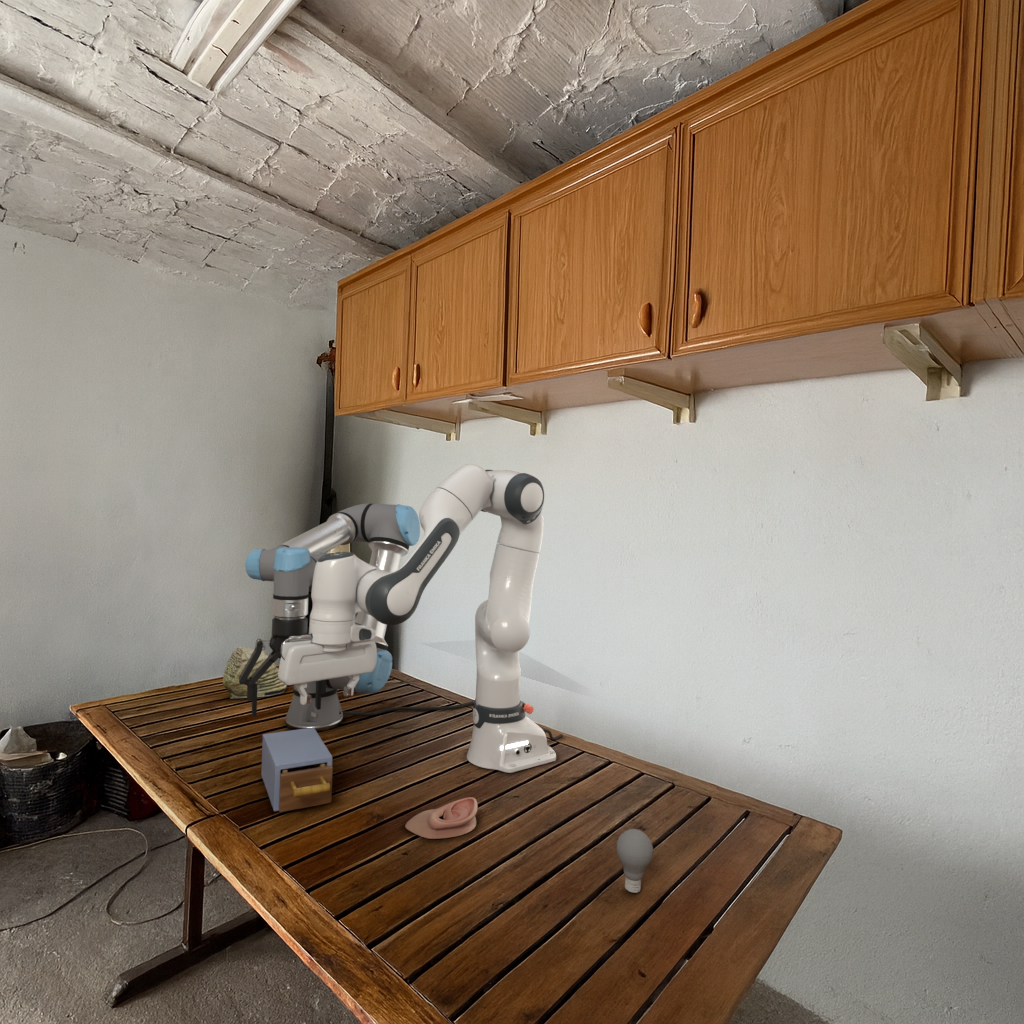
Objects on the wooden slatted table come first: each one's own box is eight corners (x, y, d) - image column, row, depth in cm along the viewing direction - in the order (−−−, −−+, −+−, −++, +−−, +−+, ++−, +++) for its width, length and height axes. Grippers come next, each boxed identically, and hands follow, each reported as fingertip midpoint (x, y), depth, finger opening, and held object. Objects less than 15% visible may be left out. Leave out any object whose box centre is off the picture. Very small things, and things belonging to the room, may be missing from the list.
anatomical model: (399, 813, 120) (420, 787, 131) (398, 834, 120) (419, 806, 131) (467, 823, 117) (482, 796, 128) (466, 845, 117) (481, 815, 128)
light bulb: (610, 879, 108) (613, 822, 108) (644, 879, 109) (647, 822, 109) (619, 902, 102) (622, 840, 102) (655, 901, 103) (658, 840, 103)
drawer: (337, 814, 125) (339, 778, 125) (284, 825, 120) (285, 787, 120) (313, 769, 144) (314, 738, 144) (266, 777, 139) (268, 744, 139)
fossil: (218, 695, 195) (220, 647, 195) (278, 685, 208) (279, 640, 207) (228, 703, 189) (230, 653, 188) (289, 692, 201) (290, 645, 201)
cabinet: (330, 800, 132) (332, 756, 132) (273, 811, 127) (275, 765, 127) (312, 766, 148) (313, 727, 148) (261, 774, 143) (262, 734, 143)
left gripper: (230, 622, 133) (226, 723, 133) (350, 617, 144) (346, 710, 144) (228, 616, 139) (224, 711, 140) (343, 611, 151) (339, 700, 151)
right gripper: (289, 640, 119) (284, 713, 119) (382, 630, 133) (378, 695, 133) (274, 633, 124) (270, 704, 124) (366, 624, 138) (362, 688, 138)
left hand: (286, 711), depth 142 cm, fingers open, 13 cm apart
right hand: (327, 699), depth 129 cm, fingers open, 8 cm apart
